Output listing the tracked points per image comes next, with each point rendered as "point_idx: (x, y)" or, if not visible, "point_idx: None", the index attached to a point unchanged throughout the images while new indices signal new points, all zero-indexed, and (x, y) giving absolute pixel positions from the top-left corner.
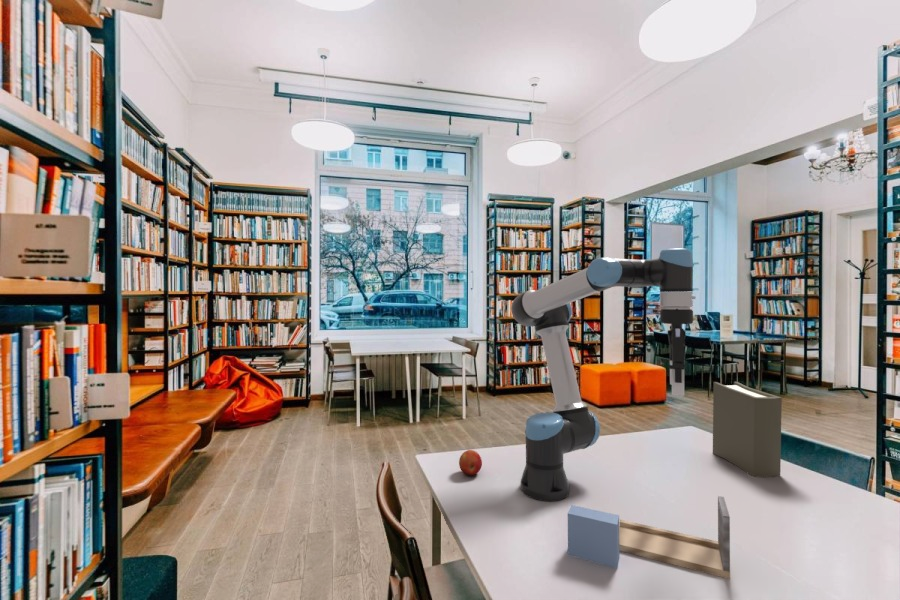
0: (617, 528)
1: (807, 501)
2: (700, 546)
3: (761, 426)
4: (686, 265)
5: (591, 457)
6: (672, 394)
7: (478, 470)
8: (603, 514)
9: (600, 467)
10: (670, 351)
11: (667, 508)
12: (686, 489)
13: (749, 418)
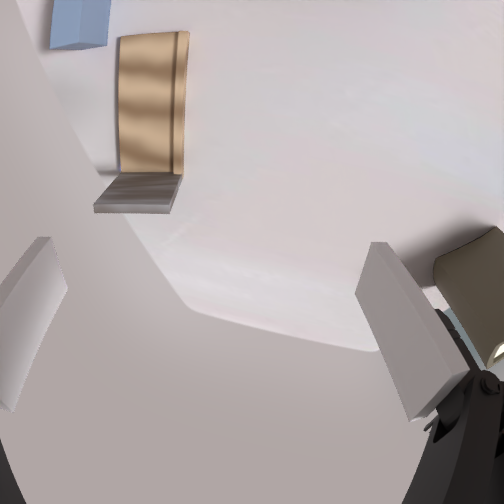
0: (57, 48)
1: None
2: (167, 148)
3: (470, 317)
4: None
5: (467, 24)
6: (37, 242)
7: None
8: (72, 20)
9: (433, 26)
10: (474, 466)
11: (302, 110)
12: (385, 156)
13: (486, 311)
